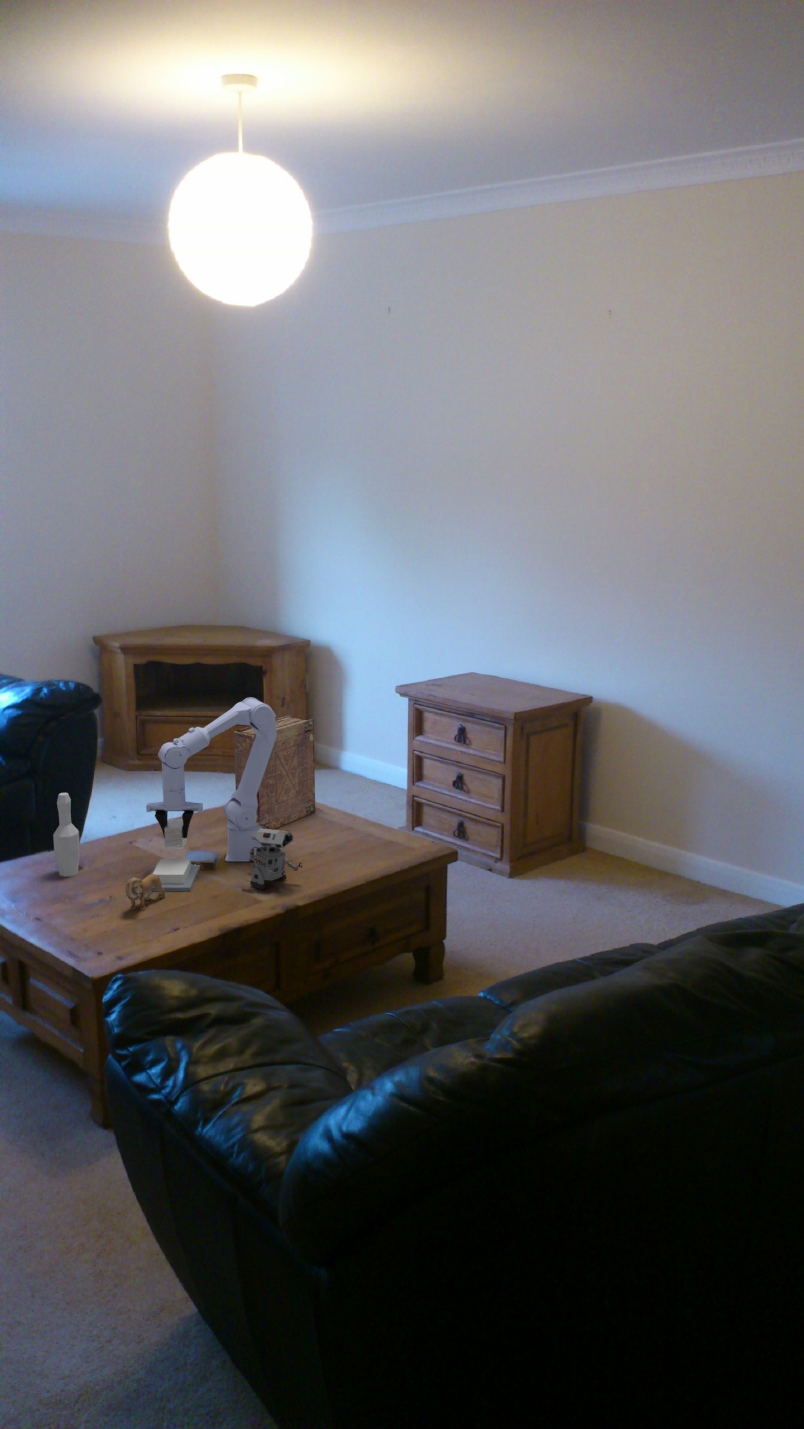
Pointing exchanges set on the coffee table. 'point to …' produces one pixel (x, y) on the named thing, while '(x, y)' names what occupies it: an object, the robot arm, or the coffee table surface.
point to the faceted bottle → (66, 839)
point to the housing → (174, 834)
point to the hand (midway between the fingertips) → (175, 837)
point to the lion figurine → (142, 889)
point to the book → (282, 772)
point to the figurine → (270, 856)
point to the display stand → (176, 874)
